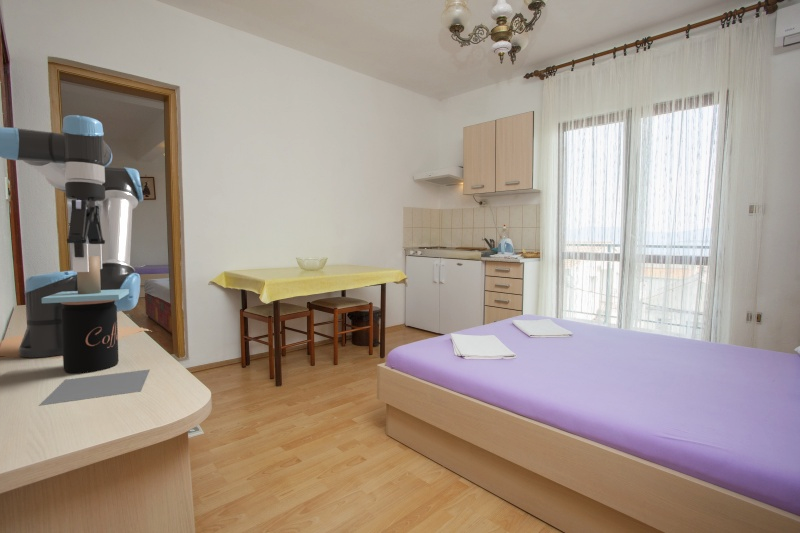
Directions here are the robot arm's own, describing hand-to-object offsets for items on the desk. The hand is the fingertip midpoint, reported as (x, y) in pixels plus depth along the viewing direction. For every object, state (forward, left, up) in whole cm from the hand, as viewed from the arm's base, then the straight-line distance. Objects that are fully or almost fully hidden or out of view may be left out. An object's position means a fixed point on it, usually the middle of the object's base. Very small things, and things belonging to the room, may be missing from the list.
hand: (88, 270), depth 95 cm
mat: (+17, +5, -25) cm, 30 cm away
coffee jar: (0, 0, -25) cm, 25 cm away
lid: (0, 0, -7) cm, 7 cm away
